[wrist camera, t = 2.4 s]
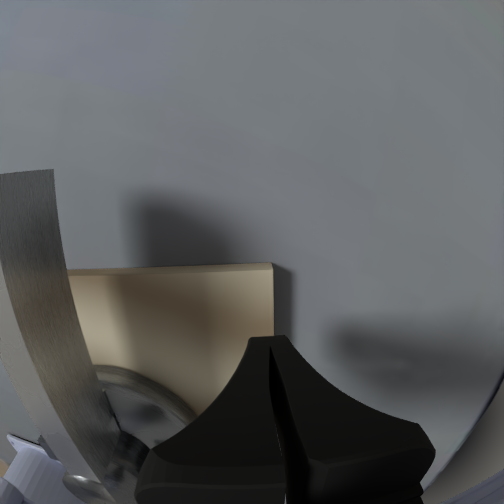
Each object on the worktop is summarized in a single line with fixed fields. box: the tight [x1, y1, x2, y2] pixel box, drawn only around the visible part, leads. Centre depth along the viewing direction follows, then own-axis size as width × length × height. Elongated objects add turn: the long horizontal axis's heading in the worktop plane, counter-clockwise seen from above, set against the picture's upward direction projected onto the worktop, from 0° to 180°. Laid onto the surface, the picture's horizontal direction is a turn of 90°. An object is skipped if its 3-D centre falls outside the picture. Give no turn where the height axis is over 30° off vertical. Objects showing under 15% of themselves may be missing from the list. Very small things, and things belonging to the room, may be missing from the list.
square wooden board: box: [67, 262, 274, 416], centre depth 15 cm, size 16×17×1 cm
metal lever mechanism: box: [0, 169, 198, 504], centre depth 11 cm, size 20×10×6 cm, turn 2°
